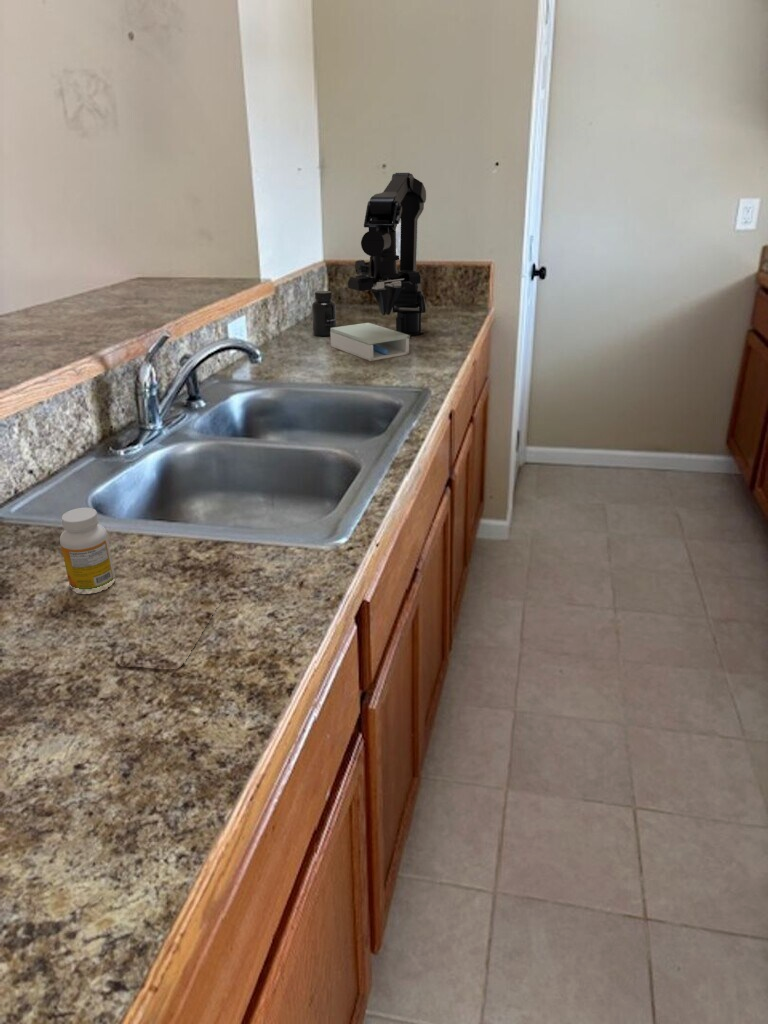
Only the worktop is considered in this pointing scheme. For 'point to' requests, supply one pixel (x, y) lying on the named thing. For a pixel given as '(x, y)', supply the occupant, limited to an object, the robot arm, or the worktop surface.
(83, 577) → the supplement bottle
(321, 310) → the supplement bottle
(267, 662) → the worktop surface
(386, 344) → the cable duct
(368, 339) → the duct cover
